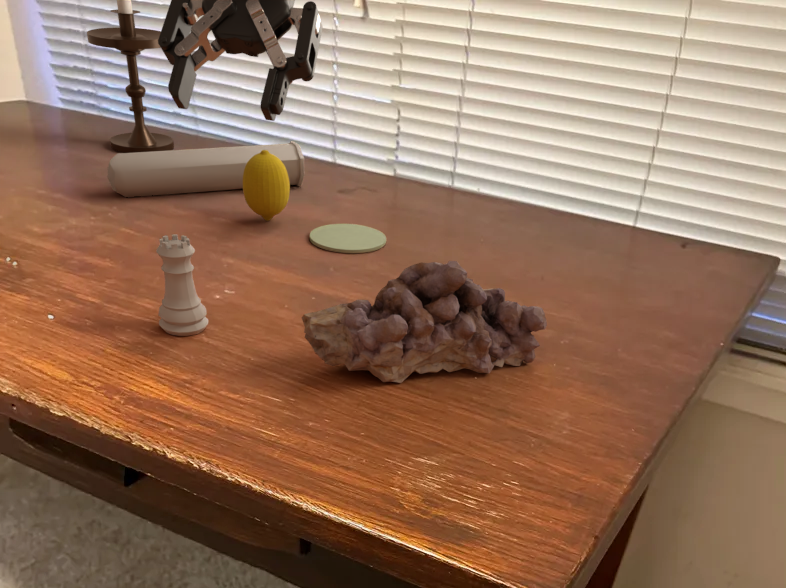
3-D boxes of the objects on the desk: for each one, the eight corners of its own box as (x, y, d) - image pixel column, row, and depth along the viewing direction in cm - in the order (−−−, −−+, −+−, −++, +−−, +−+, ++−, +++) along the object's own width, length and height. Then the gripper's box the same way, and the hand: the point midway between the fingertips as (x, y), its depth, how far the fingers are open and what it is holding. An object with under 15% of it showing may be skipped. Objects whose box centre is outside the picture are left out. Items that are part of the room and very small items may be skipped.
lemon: (277, 211, 102) (275, 142, 97) (298, 224, 99) (297, 154, 94) (236, 216, 99) (232, 145, 94) (256, 230, 96) (253, 158, 91)
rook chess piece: (218, 328, 75) (211, 241, 70) (177, 342, 72) (166, 252, 67) (191, 312, 77) (182, 227, 72) (149, 325, 75) (137, 237, 70)
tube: (110, 169, 98) (306, 156, 107) (100, 143, 100) (292, 133, 109) (114, 208, 102) (302, 193, 111) (104, 183, 104) (290, 169, 114)
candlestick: (101, 155, 116) (50, -169, 94) (107, 136, 124) (60, -166, 102) (180, 156, 118) (147, -160, 96) (180, 137, 126) (150, -158, 104)
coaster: (306, 250, 92) (306, 247, 92) (312, 224, 99) (312, 221, 99) (386, 255, 92) (386, 252, 92) (386, 229, 99) (386, 225, 99)
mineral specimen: (496, 268, 76) (535, 214, 67) (535, 366, 76) (581, 327, 66) (291, 329, 71) (302, 280, 62) (332, 435, 71) (350, 402, 61)
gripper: (176, -96, 72) (131, 71, 71) (329, -82, 70) (285, 90, 69) (207, -27, 80) (167, 125, 78) (346, -13, 77) (307, 144, 76)
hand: (222, 109), depth 73 cm, fingers open, 8 cm apart
